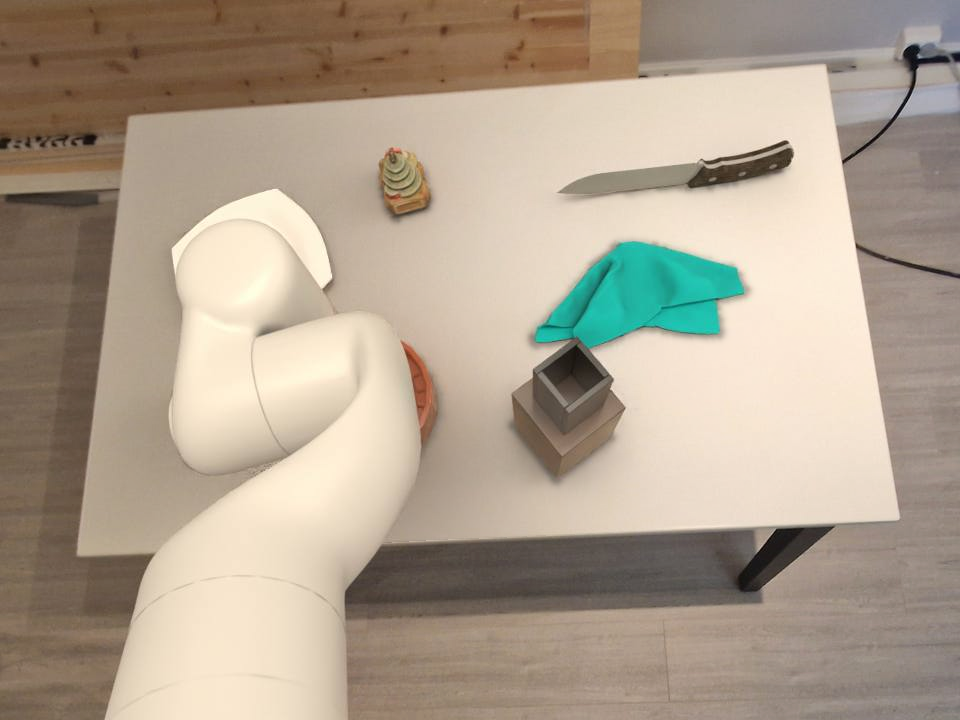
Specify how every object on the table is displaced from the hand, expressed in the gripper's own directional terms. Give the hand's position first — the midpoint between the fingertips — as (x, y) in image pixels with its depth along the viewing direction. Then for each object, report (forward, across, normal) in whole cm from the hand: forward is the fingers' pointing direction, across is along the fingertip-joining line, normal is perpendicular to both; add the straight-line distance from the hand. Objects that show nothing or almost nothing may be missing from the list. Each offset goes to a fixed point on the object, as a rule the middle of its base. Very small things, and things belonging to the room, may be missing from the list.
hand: (351, 397), depth 71 cm
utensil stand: (+14, +14, +17) cm, 26 cm away
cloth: (+14, +6, +35) cm, 38 cm away
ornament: (+14, -24, +21) cm, 35 cm away
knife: (+14, -3, +48) cm, 51 cm away
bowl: (+14, -2, +1) cm, 14 cm away
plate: (+14, -28, -1) cm, 31 cm away
